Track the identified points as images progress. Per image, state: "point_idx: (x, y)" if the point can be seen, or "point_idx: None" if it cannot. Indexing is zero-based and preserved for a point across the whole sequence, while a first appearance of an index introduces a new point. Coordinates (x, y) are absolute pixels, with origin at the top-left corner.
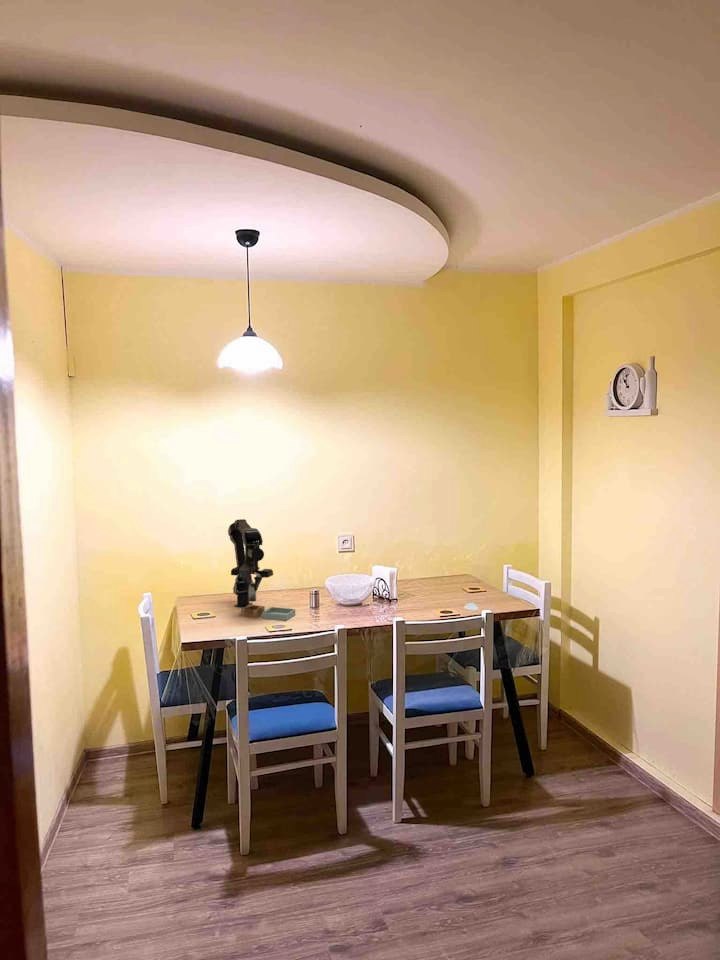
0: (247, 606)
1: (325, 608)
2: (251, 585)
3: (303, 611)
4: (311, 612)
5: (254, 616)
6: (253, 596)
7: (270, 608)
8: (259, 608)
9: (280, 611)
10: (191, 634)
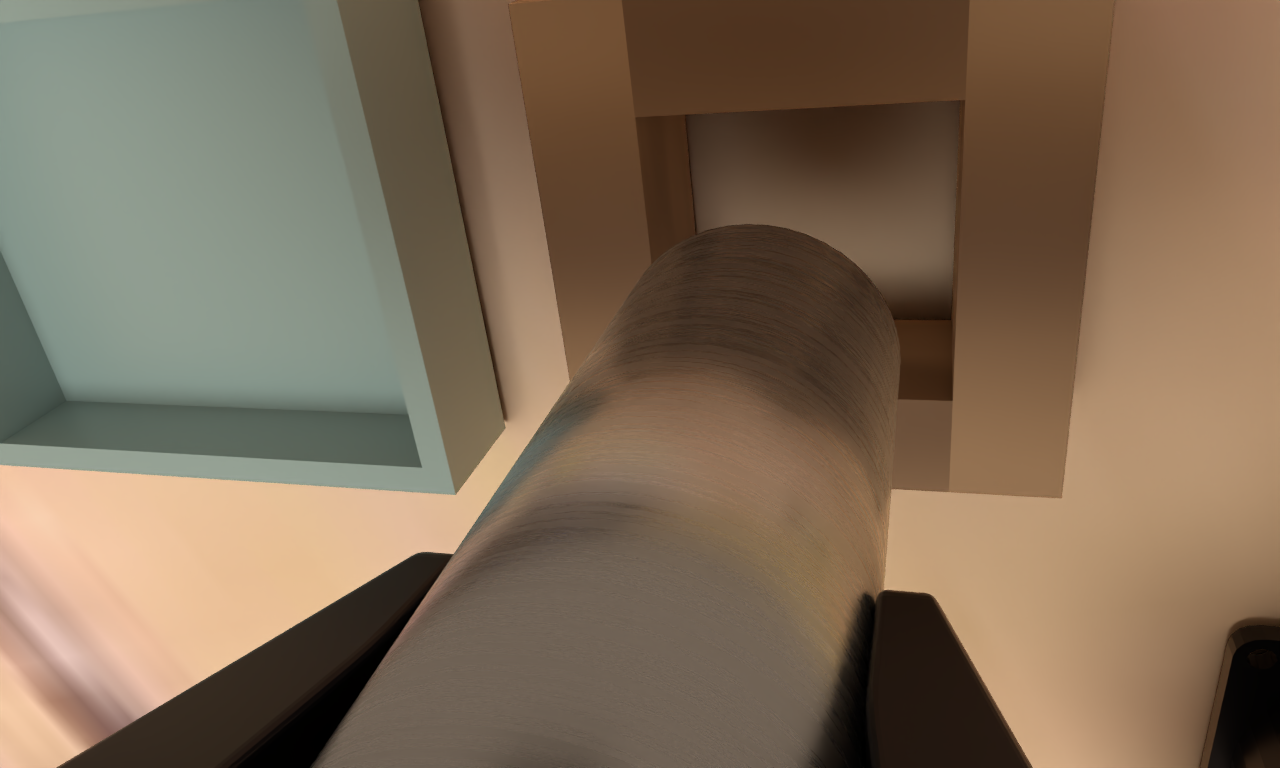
0: (1019, 334)
1: (17, 739)
2: (415, 737)
3: (127, 592)
4: (10, 569)
5: None
6: (596, 350)
7: (407, 396)
8: (575, 254)
9: (282, 418)
10: None
